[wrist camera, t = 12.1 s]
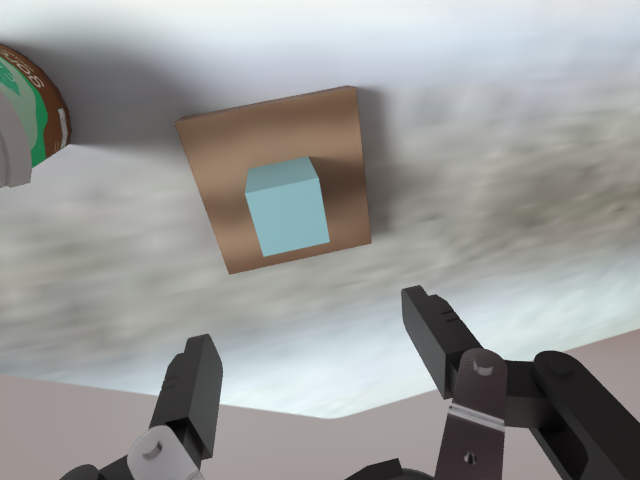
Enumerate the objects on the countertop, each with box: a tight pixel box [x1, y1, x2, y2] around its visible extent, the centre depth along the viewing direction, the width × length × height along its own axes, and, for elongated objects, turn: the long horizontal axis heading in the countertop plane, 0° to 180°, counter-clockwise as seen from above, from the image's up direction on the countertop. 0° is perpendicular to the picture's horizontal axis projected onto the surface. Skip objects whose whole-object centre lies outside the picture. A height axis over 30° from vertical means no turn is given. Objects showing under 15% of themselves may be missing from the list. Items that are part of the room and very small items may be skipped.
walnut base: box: [175, 86, 371, 275], centre depth 30 cm, size 14×14×3 cm
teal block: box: [245, 156, 330, 257], centre depth 26 cm, size 5×5×6 cm
